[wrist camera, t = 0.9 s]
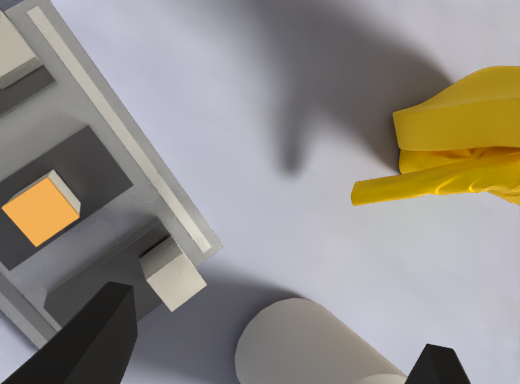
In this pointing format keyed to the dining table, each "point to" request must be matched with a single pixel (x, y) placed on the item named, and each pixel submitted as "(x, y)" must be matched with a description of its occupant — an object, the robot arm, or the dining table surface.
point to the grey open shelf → (85, 185)
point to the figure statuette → (457, 142)
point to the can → (307, 349)
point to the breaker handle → (43, 208)
